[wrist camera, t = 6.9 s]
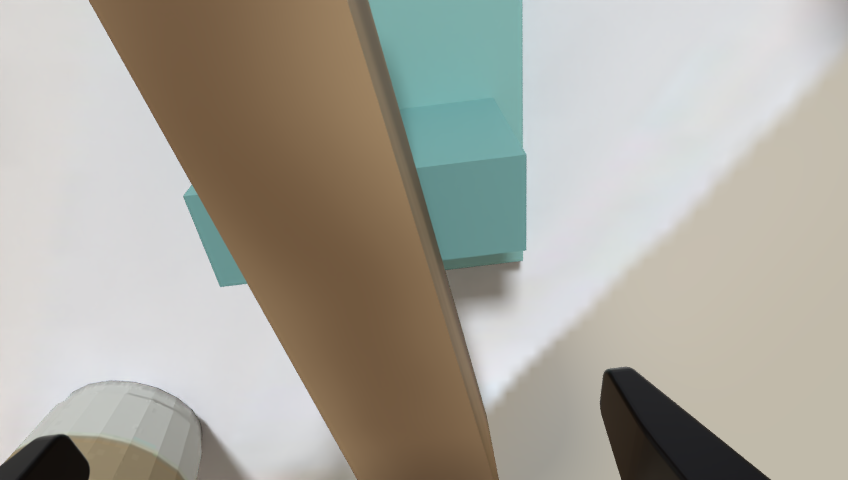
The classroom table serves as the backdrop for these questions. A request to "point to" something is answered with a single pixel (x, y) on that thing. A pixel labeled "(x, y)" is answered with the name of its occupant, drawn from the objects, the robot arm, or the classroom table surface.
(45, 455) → the robot arm
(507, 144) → the fulcrum block
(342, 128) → the walnut bar
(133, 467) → the coffee cup
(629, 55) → the classroom table surface
